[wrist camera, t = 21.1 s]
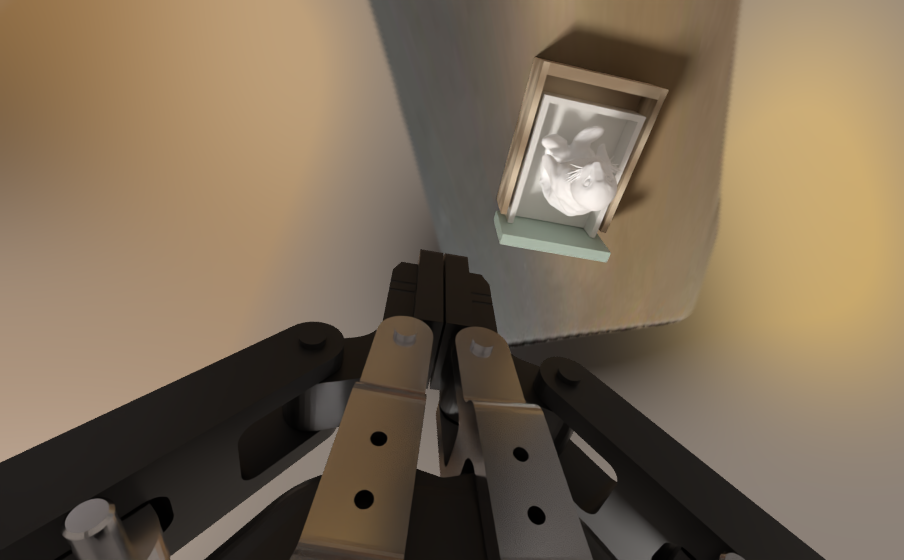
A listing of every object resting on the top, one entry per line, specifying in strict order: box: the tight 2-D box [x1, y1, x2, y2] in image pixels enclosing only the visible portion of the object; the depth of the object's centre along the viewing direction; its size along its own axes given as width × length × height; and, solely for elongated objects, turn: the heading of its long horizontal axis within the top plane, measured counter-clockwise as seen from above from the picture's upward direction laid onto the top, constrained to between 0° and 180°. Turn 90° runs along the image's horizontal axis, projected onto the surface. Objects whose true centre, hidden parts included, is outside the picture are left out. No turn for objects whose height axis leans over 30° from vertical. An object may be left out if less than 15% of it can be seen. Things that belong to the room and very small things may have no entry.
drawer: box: [494, 91, 646, 262], centre depth 43 cm, size 14×12×6 cm
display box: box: [496, 57, 669, 233], centre depth 44 cm, size 15×12×4 cm
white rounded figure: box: [539, 126, 623, 216], centre depth 40 cm, size 6×8×12 cm
